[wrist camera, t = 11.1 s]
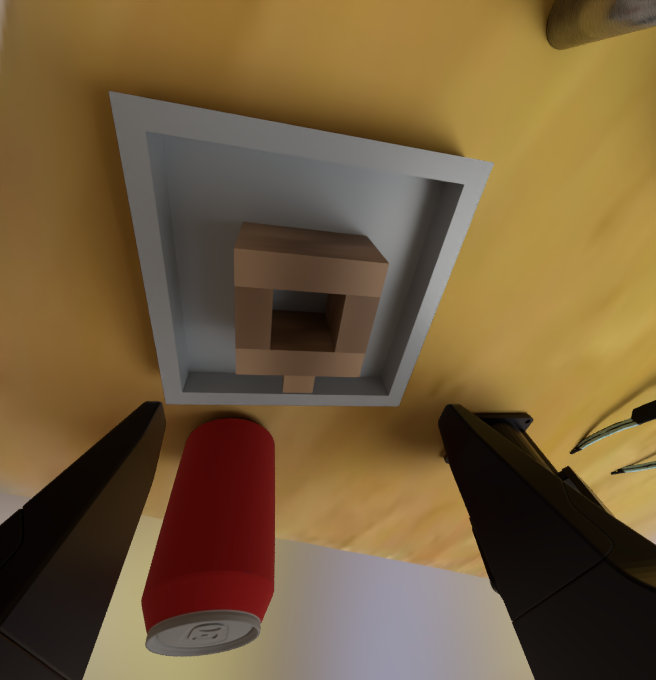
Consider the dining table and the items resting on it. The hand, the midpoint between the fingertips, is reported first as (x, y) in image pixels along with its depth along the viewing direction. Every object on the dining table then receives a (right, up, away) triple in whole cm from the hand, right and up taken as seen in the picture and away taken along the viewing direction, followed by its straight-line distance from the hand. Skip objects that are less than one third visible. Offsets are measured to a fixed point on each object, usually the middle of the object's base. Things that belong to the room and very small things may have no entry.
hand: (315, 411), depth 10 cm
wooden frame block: (-1, +5, +8) cm, 10 cm away
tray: (-1, +6, +8) cm, 10 cm away
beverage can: (-7, -6, +15) cm, 18 cm away
